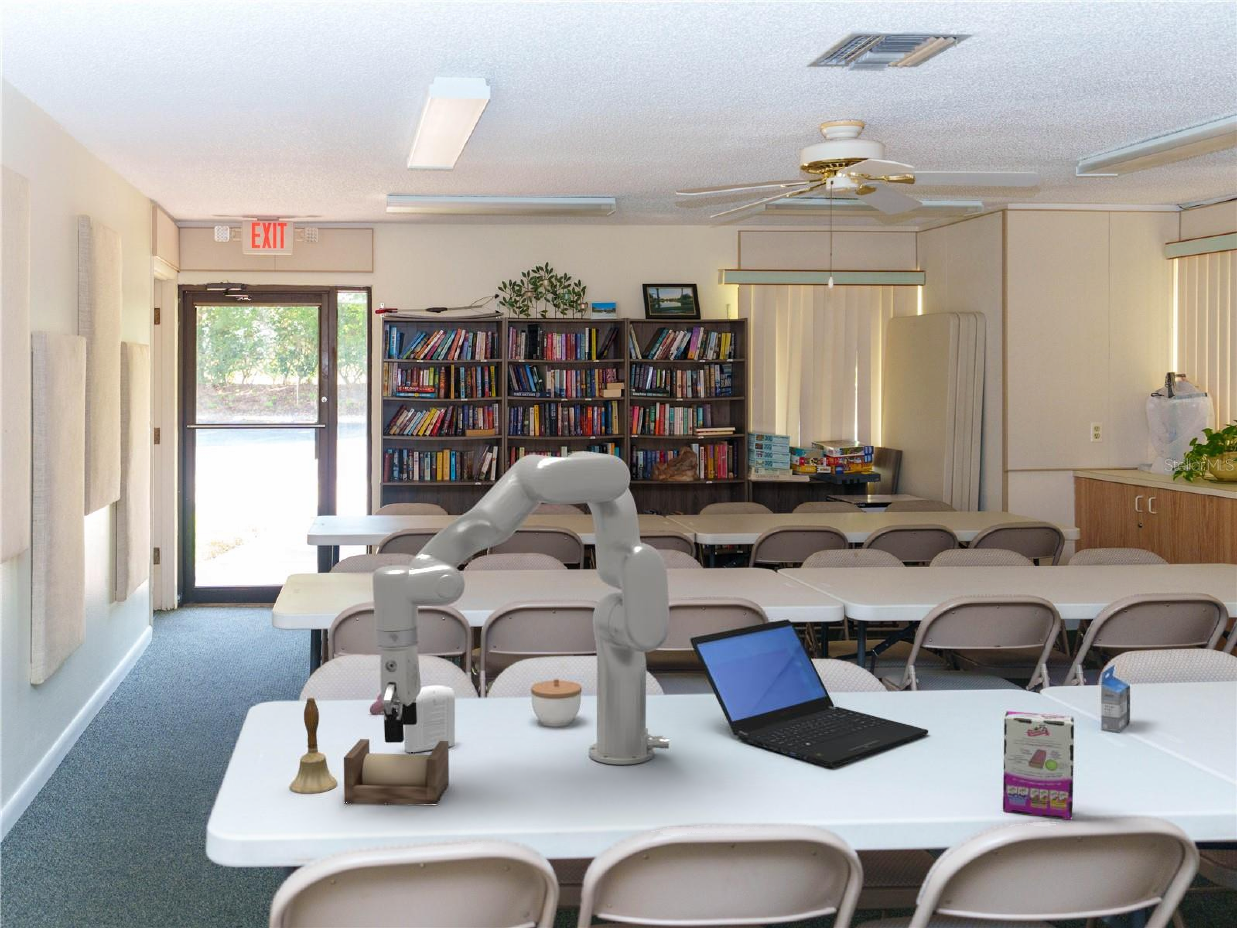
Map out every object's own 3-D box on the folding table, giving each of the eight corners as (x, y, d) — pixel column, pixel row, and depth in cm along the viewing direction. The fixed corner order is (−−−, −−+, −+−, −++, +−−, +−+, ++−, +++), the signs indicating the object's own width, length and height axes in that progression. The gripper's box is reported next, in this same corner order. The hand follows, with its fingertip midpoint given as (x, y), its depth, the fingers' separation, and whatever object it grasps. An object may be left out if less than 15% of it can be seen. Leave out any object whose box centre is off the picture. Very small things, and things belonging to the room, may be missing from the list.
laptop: (830, 772, 219) (832, 670, 218) (687, 728, 247) (687, 637, 246) (931, 737, 242) (933, 644, 240) (789, 700, 270) (790, 616, 268)
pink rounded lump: (386, 722, 255) (400, 693, 255) (367, 712, 255) (381, 684, 255) (394, 709, 265) (408, 682, 265) (376, 700, 265) (389, 673, 264)
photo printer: (449, 740, 237) (448, 680, 236) (458, 746, 233) (458, 685, 233) (401, 749, 231) (400, 687, 231) (410, 755, 228) (409, 692, 227)
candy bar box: (1072, 810, 200) (1075, 715, 198) (1072, 820, 195) (1075, 723, 194) (1003, 802, 204) (1005, 709, 202) (1001, 811, 199) (1004, 716, 198)
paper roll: (433, 782, 209) (432, 749, 209) (425, 795, 203) (425, 761, 203) (371, 780, 210) (370, 748, 209) (362, 793, 204) (361, 760, 203)
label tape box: (1119, 733, 243) (1121, 675, 243) (1099, 730, 246) (1100, 672, 245) (1130, 723, 250) (1132, 667, 250) (1110, 720, 253) (1112, 664, 252)
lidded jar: (591, 724, 249) (591, 680, 248) (547, 732, 243) (547, 688, 242) (564, 712, 257) (564, 670, 257) (521, 720, 251) (521, 677, 251)
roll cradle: (448, 784, 211) (448, 740, 211) (436, 805, 201) (436, 759, 200) (361, 782, 212) (360, 739, 212) (344, 803, 202) (343, 757, 201)
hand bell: (312, 797, 205) (311, 707, 204) (279, 788, 209) (278, 700, 208) (347, 783, 212) (346, 696, 211) (314, 775, 216) (313, 689, 215)
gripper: (406, 648, 196) (411, 749, 197) (429, 625, 213) (433, 717, 215) (362, 649, 196) (367, 749, 198) (388, 626, 213) (392, 718, 215)
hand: (401, 732), depth 206 cm, fingers open, 9 cm apart
